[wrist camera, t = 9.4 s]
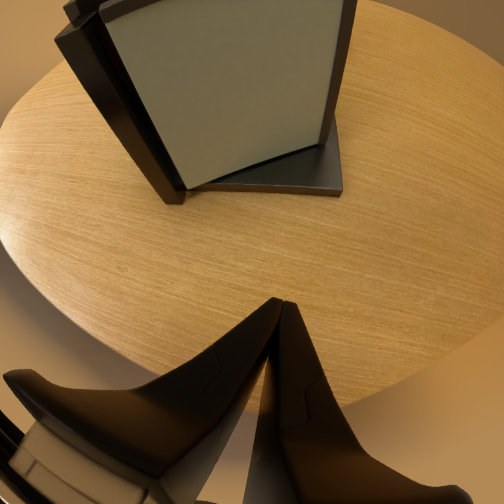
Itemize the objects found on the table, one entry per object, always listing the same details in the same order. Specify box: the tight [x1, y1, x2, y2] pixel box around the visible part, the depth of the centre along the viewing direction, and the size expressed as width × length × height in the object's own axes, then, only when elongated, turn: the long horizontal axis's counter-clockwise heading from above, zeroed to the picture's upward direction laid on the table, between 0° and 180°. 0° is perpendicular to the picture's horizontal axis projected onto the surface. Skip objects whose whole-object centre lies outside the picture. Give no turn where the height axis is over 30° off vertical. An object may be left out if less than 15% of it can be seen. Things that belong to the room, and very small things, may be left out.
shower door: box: [99, 0, 357, 189], centre depth 14 cm, size 1×12×16 cm, turn 112°
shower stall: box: [54, 0, 343, 204], centre depth 16 cm, size 14×15×18 cm
